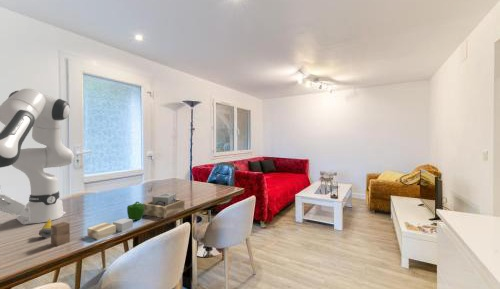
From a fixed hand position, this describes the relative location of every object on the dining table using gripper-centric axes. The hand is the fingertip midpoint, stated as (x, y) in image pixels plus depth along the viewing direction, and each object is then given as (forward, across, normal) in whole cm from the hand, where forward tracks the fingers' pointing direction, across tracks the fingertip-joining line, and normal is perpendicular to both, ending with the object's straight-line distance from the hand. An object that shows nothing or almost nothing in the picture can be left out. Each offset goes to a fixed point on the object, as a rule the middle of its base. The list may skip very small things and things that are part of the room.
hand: (21, 214), depth 83 cm
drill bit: (+21, +14, +2) cm, 25 cm away
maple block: (+29, -7, -6) cm, 31 cm away
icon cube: (+56, -9, -32) cm, 65 cm away
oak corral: (+55, -10, -32) cm, 64 cm away
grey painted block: (+36, -10, -12) cm, 39 cm away
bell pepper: (+44, -5, -20) cm, 48 cm away
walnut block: (+20, 0, +3) cm, 20 cm away
